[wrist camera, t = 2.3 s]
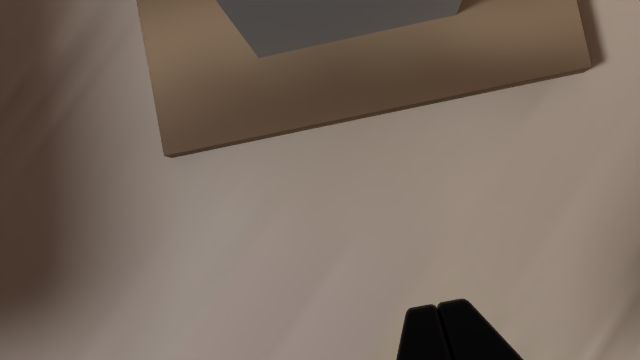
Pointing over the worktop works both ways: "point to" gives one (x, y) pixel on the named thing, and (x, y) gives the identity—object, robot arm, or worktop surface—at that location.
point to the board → (342, 68)
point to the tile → (324, 20)
